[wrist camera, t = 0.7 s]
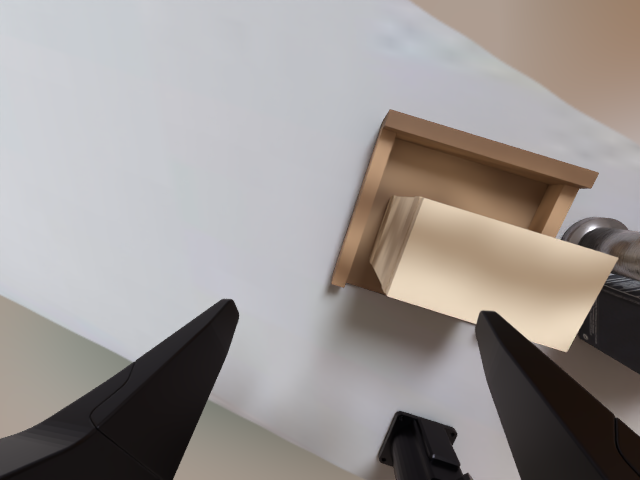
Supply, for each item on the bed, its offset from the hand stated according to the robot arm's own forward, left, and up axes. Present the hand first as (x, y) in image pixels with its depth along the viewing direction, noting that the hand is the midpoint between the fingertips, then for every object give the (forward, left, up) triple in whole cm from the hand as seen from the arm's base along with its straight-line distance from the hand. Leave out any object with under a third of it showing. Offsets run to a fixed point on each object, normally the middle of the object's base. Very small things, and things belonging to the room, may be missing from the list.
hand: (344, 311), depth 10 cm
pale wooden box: (+2, -9, -15) cm, 18 cm away
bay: (+4, -9, -15) cm, 18 cm away
